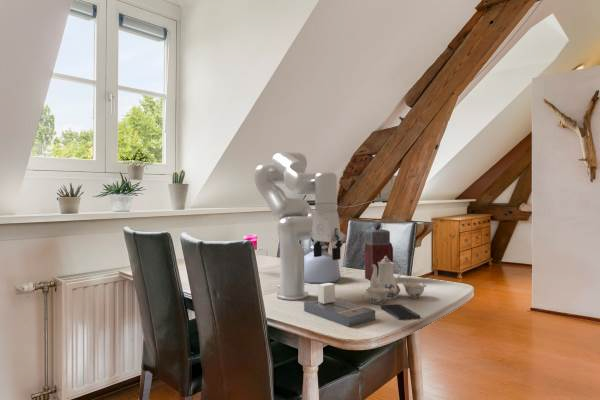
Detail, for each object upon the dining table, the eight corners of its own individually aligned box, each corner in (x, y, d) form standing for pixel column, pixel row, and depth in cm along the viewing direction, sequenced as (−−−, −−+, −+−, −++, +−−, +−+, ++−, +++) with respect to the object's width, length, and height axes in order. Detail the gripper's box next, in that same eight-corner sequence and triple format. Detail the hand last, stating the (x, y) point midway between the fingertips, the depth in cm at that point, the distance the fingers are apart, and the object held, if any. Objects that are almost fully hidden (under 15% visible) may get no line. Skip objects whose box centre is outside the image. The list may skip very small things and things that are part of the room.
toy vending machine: (394, 280, 192) (394, 220, 191) (372, 282, 189) (372, 221, 189) (386, 276, 200) (386, 219, 200) (364, 278, 198) (364, 219, 197)
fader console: (304, 311, 143) (304, 302, 143) (330, 305, 150) (329, 296, 150) (348, 327, 126) (348, 317, 126) (375, 319, 133) (375, 310, 133)
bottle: (341, 276, 204) (341, 237, 203) (338, 284, 184) (338, 242, 184) (302, 274, 207) (301, 237, 207) (294, 283, 188) (294, 242, 187)
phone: (399, 304, 148) (421, 316, 134) (399, 307, 149) (421, 319, 134) (379, 305, 147) (399, 317, 132) (379, 308, 147) (399, 321, 132)
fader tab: (318, 301, 142) (318, 284, 142) (329, 299, 146) (329, 282, 145) (323, 303, 140) (323, 286, 140) (334, 301, 143) (334, 284, 143)
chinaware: (377, 313, 146) (380, 267, 144) (348, 298, 160) (350, 256, 158) (431, 301, 161) (434, 260, 159) (400, 289, 175) (403, 250, 173)
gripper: (302, 208, 147) (302, 256, 147) (335, 209, 133) (335, 262, 133) (318, 207, 151) (319, 254, 151) (351, 208, 138) (352, 259, 138)
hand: (326, 258), depth 142 cm, fingers open, 9 cm apart
